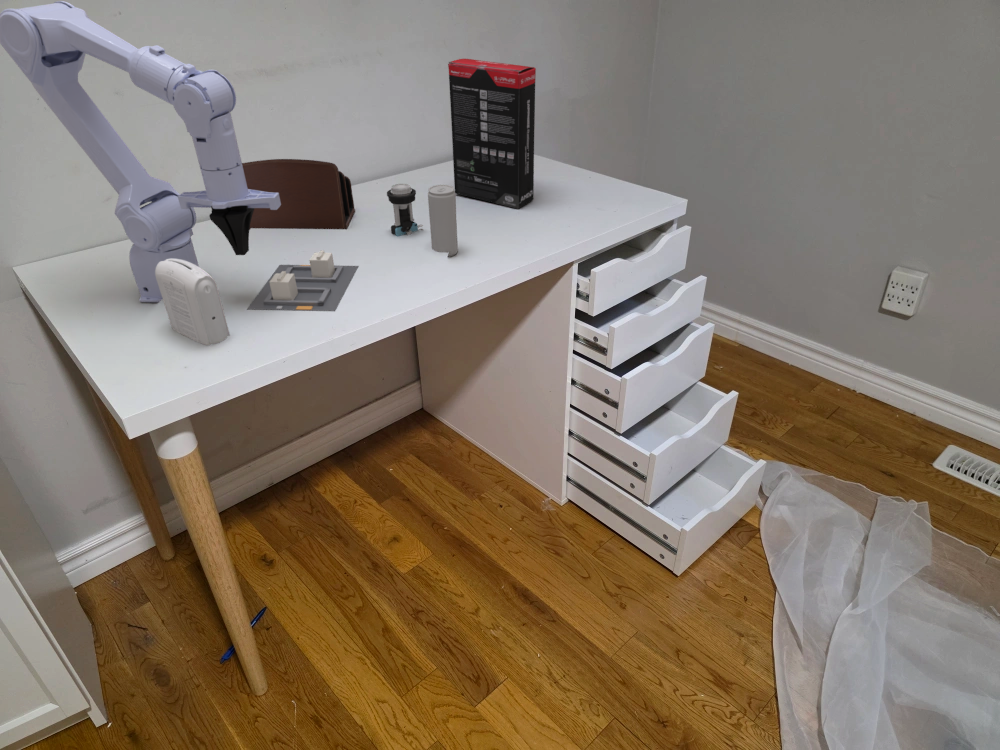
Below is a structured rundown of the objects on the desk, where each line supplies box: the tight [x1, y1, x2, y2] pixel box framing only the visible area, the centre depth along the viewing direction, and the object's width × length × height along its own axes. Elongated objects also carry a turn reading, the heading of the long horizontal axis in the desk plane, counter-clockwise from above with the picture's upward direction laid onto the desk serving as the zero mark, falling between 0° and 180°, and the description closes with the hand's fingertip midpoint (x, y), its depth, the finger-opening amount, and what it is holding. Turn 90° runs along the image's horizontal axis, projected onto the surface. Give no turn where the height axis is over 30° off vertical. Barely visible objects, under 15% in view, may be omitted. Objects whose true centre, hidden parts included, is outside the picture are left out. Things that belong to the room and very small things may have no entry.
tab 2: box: [308, 249, 335, 278], centre depth 116 cm, size 3×3×4 cm
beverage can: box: [427, 184, 459, 258], centre depth 124 cm, size 5×5×12 cm
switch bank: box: [246, 264, 359, 312], centre depth 114 cm, size 14×16×2 cm
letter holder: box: [242, 158, 356, 231], centre depth 137 cm, size 10×20×14 cm, turn 90°
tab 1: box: [269, 271, 298, 300], centre depth 110 cm, size 3×3×4 cm
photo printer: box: [155, 258, 231, 347], centre depth 100 cm, size 10×4×12 cm, turn 55°
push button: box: [386, 183, 424, 238], centre depth 130 cm, size 7×5×10 cm
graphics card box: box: [447, 58, 537, 210], centre depth 142 cm, size 17×7×27 cm, turn 58°
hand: (242, 252), depth 107 cm, fingers closed
